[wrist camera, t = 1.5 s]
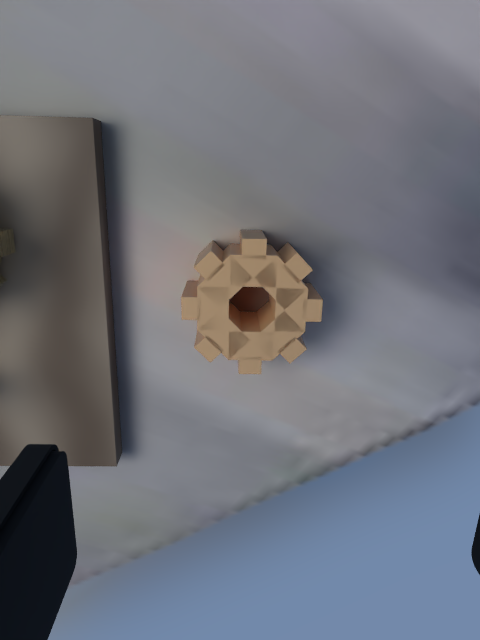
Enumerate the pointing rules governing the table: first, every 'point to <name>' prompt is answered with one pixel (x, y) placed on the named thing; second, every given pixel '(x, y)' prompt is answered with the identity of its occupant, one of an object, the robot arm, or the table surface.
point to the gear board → (56, 293)
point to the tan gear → (251, 327)
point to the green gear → (6, 246)
